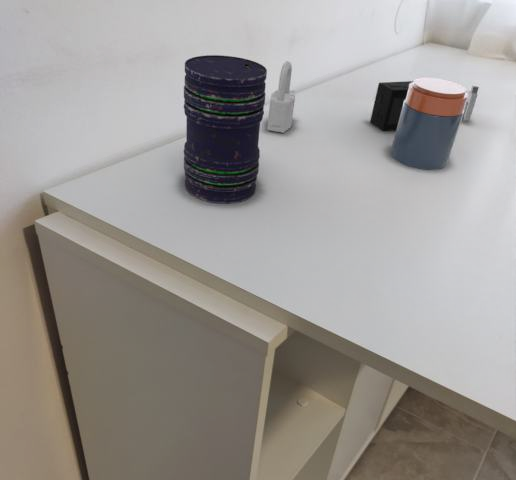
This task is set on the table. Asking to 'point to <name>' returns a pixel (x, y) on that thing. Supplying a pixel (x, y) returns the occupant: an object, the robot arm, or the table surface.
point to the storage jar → (223, 127)
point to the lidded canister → (428, 123)
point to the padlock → (282, 102)
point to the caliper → (470, 103)
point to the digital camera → (389, 104)
